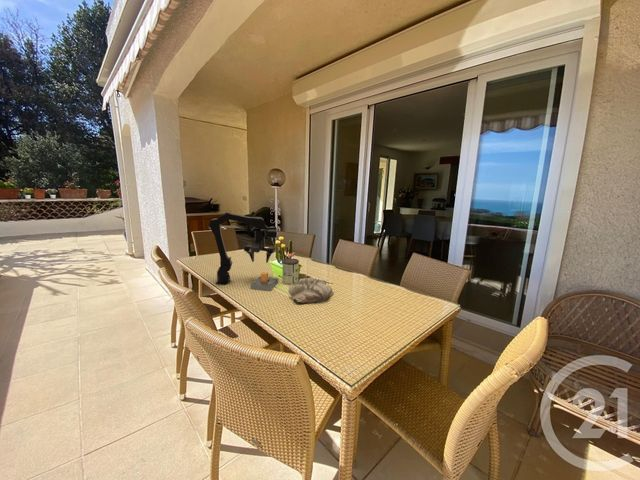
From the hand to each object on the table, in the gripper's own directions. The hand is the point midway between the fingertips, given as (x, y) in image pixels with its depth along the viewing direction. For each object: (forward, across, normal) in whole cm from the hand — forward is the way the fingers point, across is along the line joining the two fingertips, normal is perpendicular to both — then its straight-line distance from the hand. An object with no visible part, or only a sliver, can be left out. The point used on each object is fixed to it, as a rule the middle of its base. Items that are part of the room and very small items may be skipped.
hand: (260, 262), depth 159 cm
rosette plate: (+12, +6, -7) cm, 15 cm away
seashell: (+12, +37, -14) cm, 42 cm away
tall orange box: (+12, +6, -7) cm, 15 cm away
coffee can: (+12, +19, +3) cm, 23 cm away
